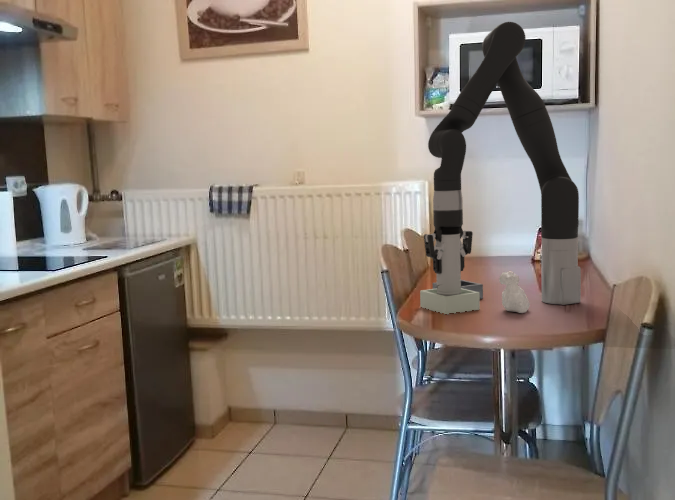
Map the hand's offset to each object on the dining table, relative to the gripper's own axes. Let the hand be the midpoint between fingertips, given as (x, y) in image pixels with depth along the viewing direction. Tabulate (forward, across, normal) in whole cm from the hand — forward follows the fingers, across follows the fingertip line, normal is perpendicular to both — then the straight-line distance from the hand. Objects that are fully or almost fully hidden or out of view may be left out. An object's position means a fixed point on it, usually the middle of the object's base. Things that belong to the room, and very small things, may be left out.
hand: (449, 271), depth 184 cm
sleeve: (+10, +10, +11) cm, 18 cm away
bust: (+10, +11, -12) cm, 19 cm away
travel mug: (+7, 0, 0) cm, 7 cm away
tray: (+10, 0, 0) cm, 10 cm away
